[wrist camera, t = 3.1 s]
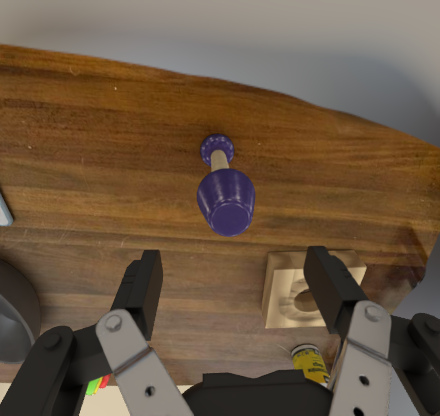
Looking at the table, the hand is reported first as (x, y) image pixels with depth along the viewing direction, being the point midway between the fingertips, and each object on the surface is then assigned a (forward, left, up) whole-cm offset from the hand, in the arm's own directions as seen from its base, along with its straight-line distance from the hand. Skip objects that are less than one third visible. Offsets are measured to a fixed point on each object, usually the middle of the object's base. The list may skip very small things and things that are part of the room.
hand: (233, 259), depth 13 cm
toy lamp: (0, 0, -21) cm, 21 cm away
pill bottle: (-19, +46, -21) cm, 54 cm away
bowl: (+35, +24, -21) cm, 47 cm away
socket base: (-15, +24, -20) cm, 35 cm away
